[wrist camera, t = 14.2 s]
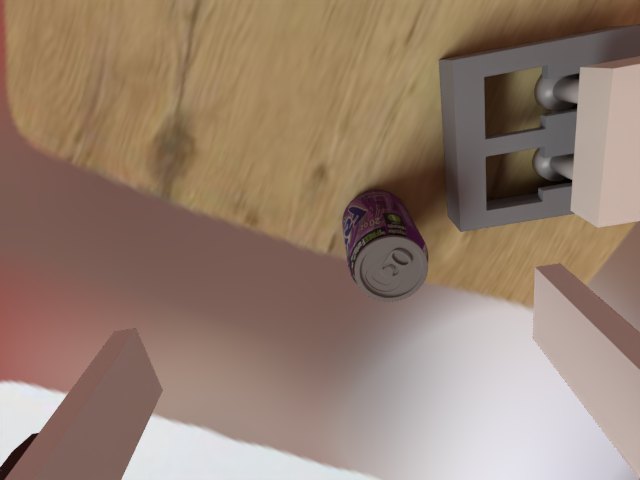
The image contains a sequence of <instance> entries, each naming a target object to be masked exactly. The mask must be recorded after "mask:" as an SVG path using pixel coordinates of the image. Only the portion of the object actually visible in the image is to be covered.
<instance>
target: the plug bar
mask: <svg viewBox="0 0 640 480" xmlns="http://www.w3.org/2000/svg"><path fill="white" fill-rule="evenodd" d="M534 95H535V99H536V101H537V103H538V104H539V105H540V106H541V107H543V108H545V109H549V110H553V111H564V110H567V109H569V108H571V107H573V106H574V105H575V104H576V103H577V104H578V107H577V121H576V136H575V151H574V153H573V154H567V155H561V156H555V157H549V158H543V157H541V156H539V155H540V147H539V148H538V149H537V150H536V152H535V154H534V156H533V160H532V164H533V168H534V170H535V172H536V173H537V174H538V175H540V176H542V177H544V178H545V179H547V180H550V181H561V180H564V179H566V178H569V179H571V180H572V195H571V210H570V211H572V212H573V213H575V214H577V215H578V216H580V217H581V218H583V219H585V220H586V221H588V222H589V223H591V224H593V225H594V226H596V227H605V226H611V225H617V224H624V223H630V222H636V221H640V56H638V57H633V58H627V59H622V60H616V61H611V62H605V63H600V64H595V65H589V66H584V67H580V73H577V74H572V75H566V76H561V77H555V78H550V79H545V78H542V75H541V76H540V77H539V79H538V80H537V82H536V85H535V90H534Z"/></svg>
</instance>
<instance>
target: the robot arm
mask: <svg viewBox="0 0 640 480" xmlns="http://www.w3.org/2000/svg"><path fill="white" fill-rule="evenodd" d="M533 339H534V340H535V342H536V343H537V344H538V346H539V347H540V348H541V349H542V351H543V352H544V354H545V355H546V356H547V357H548V359H549V360H550V362H551V363H552V364H553V365H554V367H555V368H556V369H557V371H558V372H559V374H560V375H561V376H562V377H563V379H564V380H565V382H566V383H567V384H568V386H569V387H570V388H571V389H572V391H573V392H574V393H575V395H576V396H577V397H578V399H579V400H580V401H581V403H582V404H583V405H584V407H585V408H586V409H587V411H588V412H589V413H590V415H591V416H592V417H593V419H595V421H596V423H597V424H598V425H599V427H600V428H601V429H602V430H603V432H604V433H605V435H606V436H607V437H608V438H609V440H610V441H611V442H612V444H613V445H614V447H615V448H616V449H617V451H618V452H619V453H620V454H621V456H622V457H623V458H624V460H625V461H626V462H627V464H628V465H629V466H630V468H631V469H632V470H633V472H634V473H635V474H636V476H637V477H638V478H639V480H640V332H639V331H638V330H637V329H635V328H634V327H633V326H632V325H631V324H630V323H628V322H627V321H626V320H625V319H624V318H623V317H622V316H620V315H619V314H618V313H617V312H616V311H615V310H613V309H612V308H611V307H610V306H609V305H608V304H606V303H605V302H604V301H603V300H602V299H600V297H598V296H597V295H596V294H595V293H593V291H591V290H590V289H589V288H588V287H587V286H586V285H585V284H583V283H582V282H581V281H580V280H579V279H578V278H576V277H575V276H574V275H573V274H572V273H571V272H570V271H568V270H567V269H566V268H565V267H564V266H563V265H561V264H560V263H559V264H553V265H546V266H540V267H535V287H534V317H533ZM162 391H163V390H162V388H161V385H160V383H159V380H158V378H157V376H156V374H155V371H154V369H153V366H152V364H151V362H150V359H149V357H148V354H147V352H146V350H145V347H144V345H143V343H142V341H141V338H140V336H139V333H138V331H137V329H136V328H133V329H126V330H120V331H114V333H113V334H112V335H111V337H110V338H109V340H108V341H107V342H106V343H105V345H104V346H103V347H102V349H101V350H100V351H99V353H98V354H97V356H96V357H95V358H94V360H93V361H92V362H91V364H90V365H89V366H88V368H87V369H86V370H85V372H84V373H83V374H82V376H81V377H80V378H79V380H78V381H77V383H76V384H75V385H74V387H73V388H72V389H71V391H70V392H69V393H68V395H67V396H66V397H65V399H64V400H63V401H62V403H61V404H60V405H59V407H58V408H57V410H56V411H55V412H54V414H53V415H52V416H51V418H50V419H49V420H48V422H47V423H46V424H45V426H44V427H43V428H42V430H41V431H40V432H39V433H36V434H32V435H31V436H30V437H28V438H27V439H26V440H25V441H24V442H23V443H22V444H20V445H19V446H18V447H17V448H16V449H15V450H14V451H13V452H12V453H11V454H10V455H9V457H8V458H7V459H6V461H5V462H4V463H3V465H2V466H1V467H0V480H121V479H122V476H123V474H124V472H125V470H126V468H127V466H128V464H129V461H130V459H131V457H132V455H133V453H134V451H135V449H136V446H137V444H138V442H139V440H140V438H141V436H142V434H143V431H144V429H145V427H146V425H147V423H148V421H149V419H150V416H151V414H152V412H153V410H154V408H155V406H156V404H157V401H158V399H159V397H160V395H161V393H162Z"/></svg>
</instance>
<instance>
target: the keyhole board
mask: <svg viewBox="0 0 640 480" xmlns="http://www.w3.org/2000/svg"><path fill="white" fill-rule="evenodd" d="M638 56H640V24H639V25H628V26H618V27H610V28H605V29H600V30H594V31H589V32H584V33H578V34H573V35H568V36H563V37H557V38H552V39H547V40H541V41H536V42H531V43H525V44H520V45H515V46H509V47H504V48H499V49H494V50H488V51H483V52H478V53H472V54H467V55H462V56H456V57H451V58H446V59H440V60H439V70H440V88H441V105H442V122H443V140H444V157H445V175H446V192H447V209H448V217H449V218H450V219H451V221H452V222H453V223H454V224H455V226H456V227H457V228H458V229H459V231H460V232H463V231H469V230H475V229H482V228H488V227H494V226H500V225H507V224H513V223H519V222H525V221H532V220H538V219H544V218H550V217H557V216H563V215H569V214H575V213H573V212H572V211H570V210H571V195H572V182H571V183H565V184H559V185H553V186H547V187H541V188H538V193H533V194H527V195H521V196H515V197H509V198H503V199H496V200H490V201H486V157H487V156H493V155H499V154H504V153H510V152H516V151H522V150H528V149H534V148H539V147H540V155H539V156H541V157H543V158H549V157H555V156H561V155H567V154H573V153H574V151H575V136H576V121H577V109H573V110H567V111H561V112H556V113H550V114H544V115H541V126H540V127H539V128H533V129H528V130H522V131H516V132H510V133H505V134H499V135H493V136H487V137H485V97H484V77H487V76H493V75H498V74H503V73H509V72H514V71H520V70H525V69H531V68H536V67H541V66H543V67H542V78H545V79H550V78H555V77H561V76H566V75H572V74H577V73H580V67H584V66H589V65H595V64H600V63H605V62H611V61H616V60H622V59H627V58H633V57H638Z"/></svg>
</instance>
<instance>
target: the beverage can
mask: <svg viewBox="0 0 640 480" xmlns="http://www.w3.org/2000/svg"><path fill="white" fill-rule="evenodd" d="M342 225H343V232H344V240H345V247H346V254H347V261H348V268H349V271H350V274H351V276H352V278H353V279H354V281H355V282H356V283H357V284H358V285H359V287H360V288H361V290H362V291H363V292H364V293H365V294H366V295H368V296H369V297H371V298H373V299H376V300H379V301H385V302H386V301H387V302H391V301H392V302H393V301H399V300H402V299H405V298H407V297H409V296H411V295H412V294H414V293H415V292H416V291H417V290H418V289H419V288H420V287H421V286H422V284H423V283H424V281H425V279H426V276H427V272H428V250H427V247H426V244H425V242H424V240H423V238H422V236H421V235H420V233H419V231H418V229H417V228H416V226H415V224H414V222H413V220H412V219H411V217H410V215H409V213H408V211H407V210H406V208H405V206H404V204H403V203H402V202H401V201H400V199H398V198H397V197H396V196H394V195H393V194H391V193H388V192H385V191H369V192H365V193H363V194H361V195H359V196H357V197H356V198H355V199H353V200H352V201H351V202H350V204H349V205H348V206H347V208H346V210H345V212H344V215H343V221H342Z"/></svg>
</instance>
